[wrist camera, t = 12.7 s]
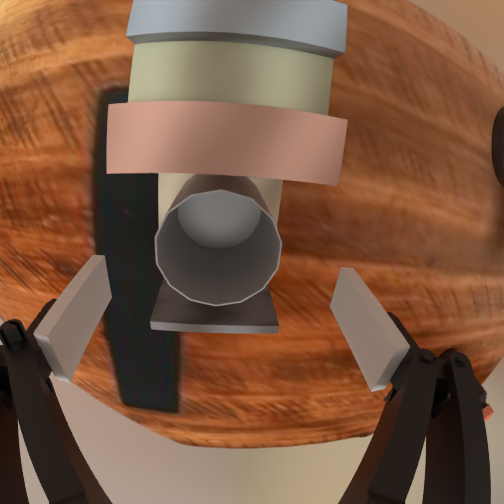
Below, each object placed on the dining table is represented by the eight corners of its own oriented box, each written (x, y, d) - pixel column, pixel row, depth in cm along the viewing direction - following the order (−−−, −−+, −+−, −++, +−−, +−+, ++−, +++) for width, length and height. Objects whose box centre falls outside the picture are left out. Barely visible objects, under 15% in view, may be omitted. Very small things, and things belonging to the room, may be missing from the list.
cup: (163, 186, 25) (133, 220, 16) (243, 153, 25) (255, 169, 16) (198, 258, 29) (190, 319, 20) (272, 230, 28) (295, 282, 20)
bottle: (431, 373, 50) (469, 434, 32) (433, 359, 47) (475, 425, 29) (453, 358, 49) (492, 415, 32) (455, 343, 46) (500, 404, 29)
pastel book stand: (292, 56, 22) (374, -9, 7) (267, 268, 33) (301, 386, 17) (173, 47, 21) (116, -32, 6) (164, 264, 31) (127, 381, 16)
